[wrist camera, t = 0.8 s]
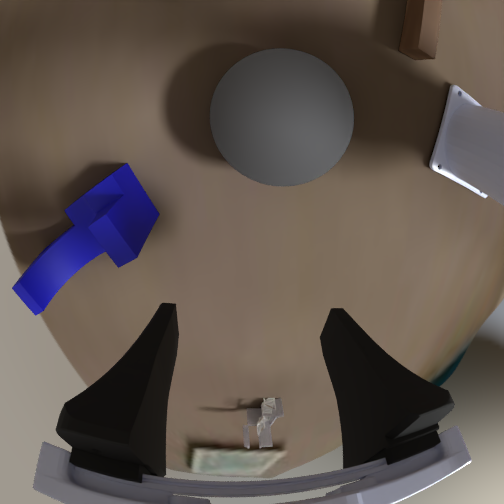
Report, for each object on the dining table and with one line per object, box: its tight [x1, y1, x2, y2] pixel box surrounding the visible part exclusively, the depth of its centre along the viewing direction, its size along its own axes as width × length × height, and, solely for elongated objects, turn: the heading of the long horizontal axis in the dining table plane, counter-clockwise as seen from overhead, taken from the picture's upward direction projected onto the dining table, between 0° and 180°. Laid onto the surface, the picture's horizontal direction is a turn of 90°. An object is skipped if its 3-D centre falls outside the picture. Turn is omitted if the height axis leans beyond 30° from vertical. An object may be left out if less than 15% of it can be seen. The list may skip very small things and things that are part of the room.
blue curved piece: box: [12, 163, 159, 315], centre depth 17 cm, size 12×4×6 cm, turn 115°
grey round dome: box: [210, 48, 354, 186], centre depth 15 cm, size 8×8×4 cm
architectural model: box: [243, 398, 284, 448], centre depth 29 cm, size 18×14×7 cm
